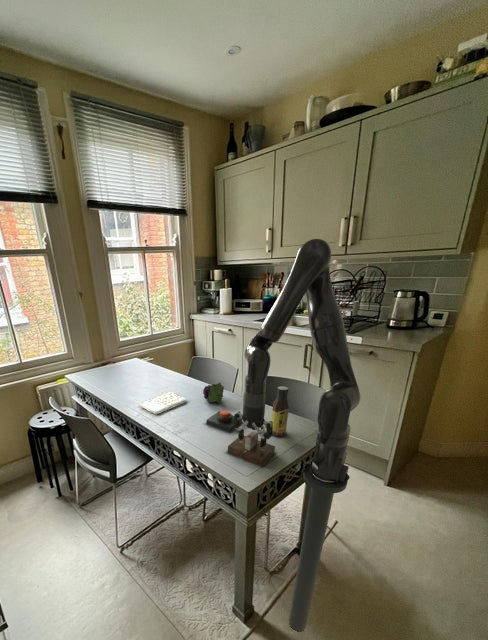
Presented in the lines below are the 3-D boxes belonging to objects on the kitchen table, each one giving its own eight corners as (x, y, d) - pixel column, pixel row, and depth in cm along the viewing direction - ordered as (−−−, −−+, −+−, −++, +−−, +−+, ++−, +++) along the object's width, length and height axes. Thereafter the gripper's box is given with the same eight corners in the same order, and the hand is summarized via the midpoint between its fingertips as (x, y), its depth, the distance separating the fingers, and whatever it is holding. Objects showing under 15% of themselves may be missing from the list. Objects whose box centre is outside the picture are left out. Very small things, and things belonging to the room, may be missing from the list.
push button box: (242, 422, 137) (242, 414, 136) (230, 432, 130) (230, 424, 129) (219, 415, 144) (219, 407, 143) (206, 424, 137) (206, 416, 136)
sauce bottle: (279, 438, 125) (284, 392, 116) (266, 432, 129) (270, 388, 121) (289, 433, 129) (294, 388, 120) (276, 427, 133) (280, 383, 125)
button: (230, 415, 136) (230, 411, 135) (225, 418, 134) (225, 415, 133) (223, 413, 138) (223, 409, 137) (218, 416, 136) (218, 412, 135)
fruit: (212, 400, 166) (230, 403, 153) (195, 402, 160) (212, 405, 148) (211, 381, 165) (230, 382, 152) (194, 382, 159) (212, 384, 147)
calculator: (187, 401, 158) (187, 398, 158) (155, 415, 146) (155, 411, 146) (170, 394, 167) (170, 391, 167) (139, 406, 155) (138, 402, 155)
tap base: (274, 452, 116) (275, 445, 115) (261, 466, 109) (262, 459, 108) (241, 440, 124) (241, 434, 123) (227, 452, 117) (227, 445, 116)
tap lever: (252, 441, 118) (253, 429, 116) (257, 443, 117) (258, 431, 115) (244, 448, 114) (245, 436, 112) (249, 450, 113) (250, 438, 111)
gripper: (278, 403, 106) (274, 444, 113) (241, 393, 115) (239, 432, 122) (268, 412, 101) (264, 454, 108) (230, 401, 109) (229, 440, 116)
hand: (251, 442), depth 115 cm, fingers open, 8 cm apart
